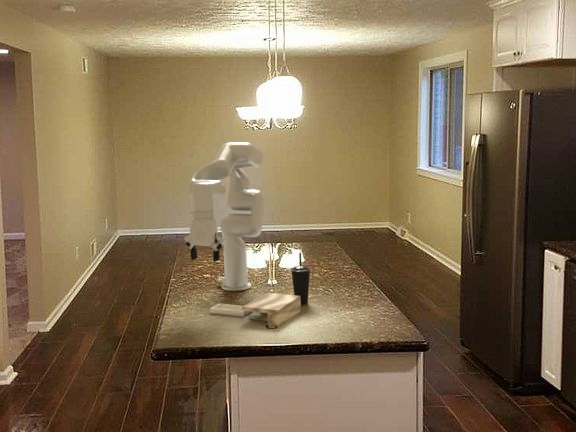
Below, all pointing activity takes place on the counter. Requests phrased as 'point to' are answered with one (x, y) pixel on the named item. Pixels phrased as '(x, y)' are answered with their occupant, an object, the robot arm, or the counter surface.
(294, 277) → the drinking cup
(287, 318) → the shelf
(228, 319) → the counter surface
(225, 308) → the white rectangular tray
